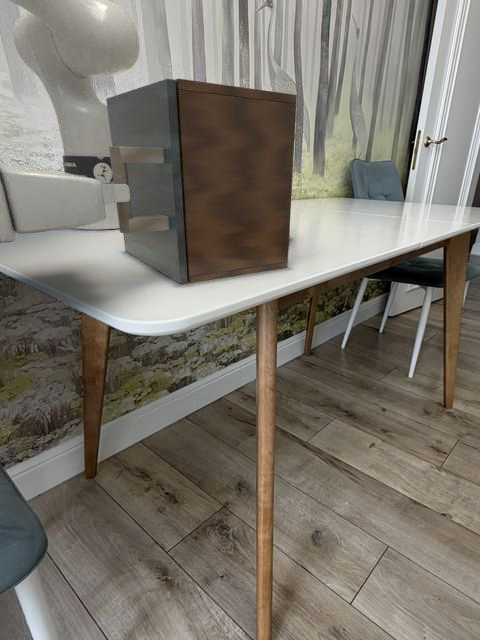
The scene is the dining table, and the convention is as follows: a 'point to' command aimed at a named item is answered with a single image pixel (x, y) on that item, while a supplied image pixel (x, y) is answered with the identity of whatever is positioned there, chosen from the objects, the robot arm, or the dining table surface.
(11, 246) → the dining table surface
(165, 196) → the door
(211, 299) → the dining table surface
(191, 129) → the cupboard
